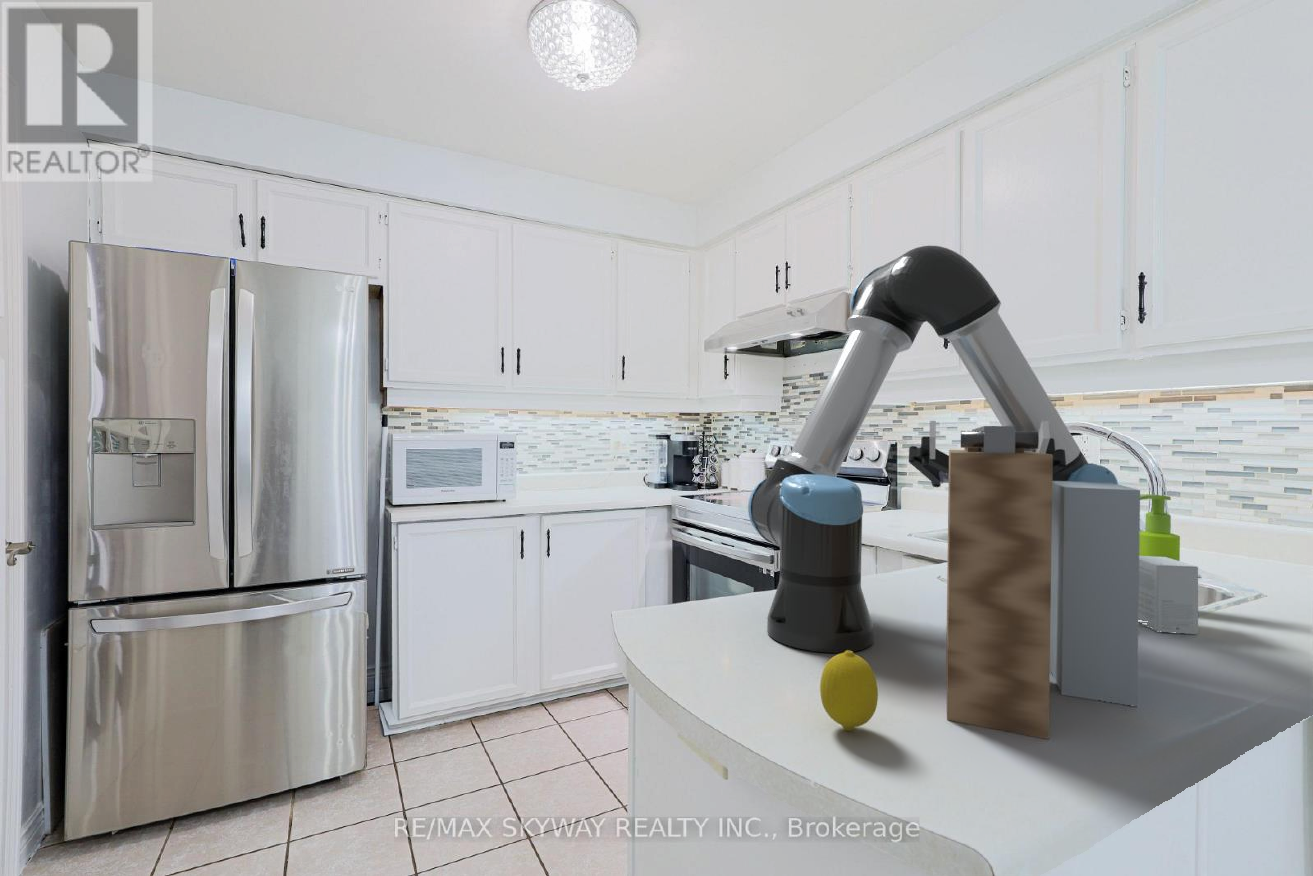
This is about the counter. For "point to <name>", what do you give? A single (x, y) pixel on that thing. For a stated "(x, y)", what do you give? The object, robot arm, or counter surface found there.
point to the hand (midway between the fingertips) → (987, 429)
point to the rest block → (1095, 590)
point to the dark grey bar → (999, 439)
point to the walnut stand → (999, 590)
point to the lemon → (849, 690)
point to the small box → (1168, 595)
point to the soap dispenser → (1158, 531)
